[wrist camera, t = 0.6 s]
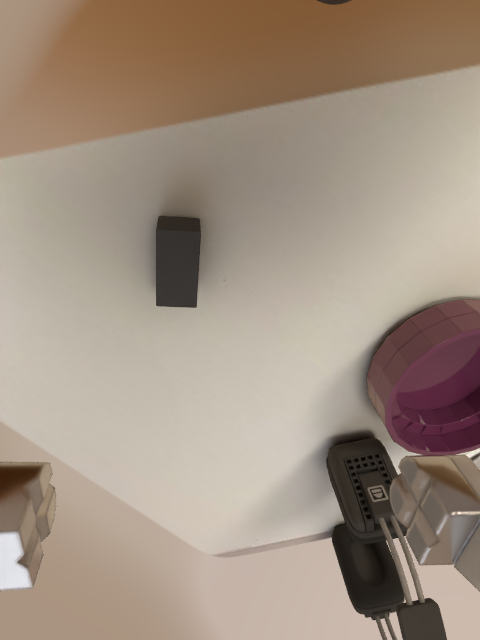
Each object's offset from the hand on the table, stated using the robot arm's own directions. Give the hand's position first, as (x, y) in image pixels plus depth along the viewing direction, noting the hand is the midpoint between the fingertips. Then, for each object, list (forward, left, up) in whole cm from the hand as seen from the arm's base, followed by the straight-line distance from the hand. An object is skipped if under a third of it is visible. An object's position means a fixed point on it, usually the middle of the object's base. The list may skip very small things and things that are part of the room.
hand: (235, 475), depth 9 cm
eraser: (+4, -2, -24) cm, 24 cm away
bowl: (+14, +24, -24) cm, 37 cm away
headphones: (+34, +20, -24) cm, 47 cm away
